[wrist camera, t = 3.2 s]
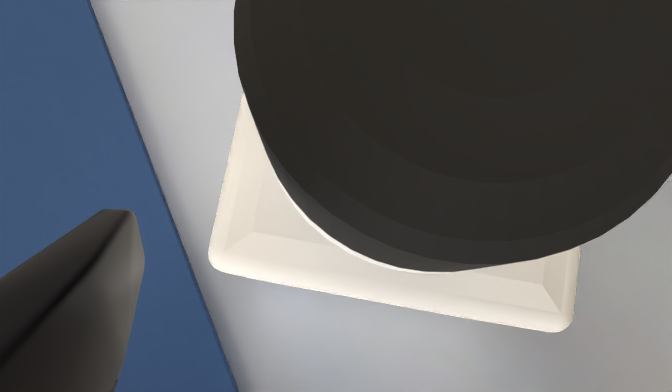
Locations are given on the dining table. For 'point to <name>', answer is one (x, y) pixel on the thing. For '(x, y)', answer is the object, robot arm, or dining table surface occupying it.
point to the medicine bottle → (442, 147)
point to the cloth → (94, 185)
